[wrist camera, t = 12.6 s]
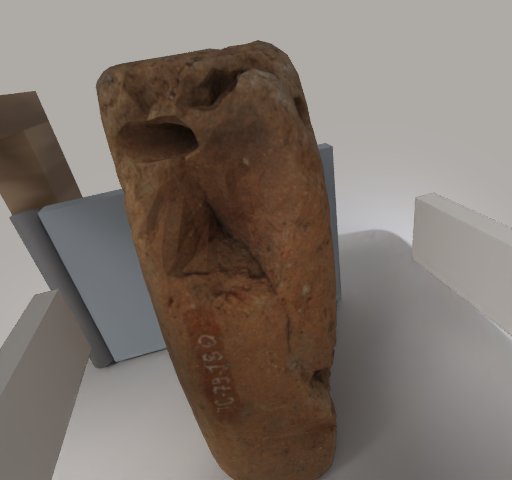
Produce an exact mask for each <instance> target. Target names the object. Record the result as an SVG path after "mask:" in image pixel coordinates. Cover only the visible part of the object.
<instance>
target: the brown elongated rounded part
mask: <svg viewBox="0 0 512 480" xmlns="http://www.w3.org/2000/svg"><path fill="white" fill-rule="evenodd" d="M96 89H97V95H98V101H99V107H100V114H101V120H102V123H103V127H104V131H105V134H106V138H107V141H108V145H109V148H110V152H111V155H112V158H113V161H114V164H115V168H116V173H117V176H118V179H119V182H120V184H121V187H122V189H123V191H124V193H125V195H124V206H125V210H126V214H127V219H128V222H129V225H130V227H131V230H132V240H133V243H134V246H135V250H136V253H137V256H138V259H139V263H140V267H141V271H142V275H143V278H144V281H145V284H146V286H147V289H148V292H149V295H150V298H151V301H152V304H153V307H154V311H155V314H156V317H157V320H158V323H159V326H160V329H161V333H162V336H163V339H164V341H165V344H166V347H167V349H168V352H169V355H170V358H171V360H172V363H173V366H174V368H175V371H176V374H177V376H178V379H179V381H180V384H181V386H182V389H183V391H184V393H185V395H186V397H187V400H188V402H189V404H190V406H191V409H192V411H193V413H194V416H195V418H196V420H197V423H198V425H199V427H200V429H201V431H202V434H203V436H204V438H205V440H206V442H207V444H208V447H209V449H210V451H211V453H212V455H213V456H214V458H215V459H216V461H217V463H218V464H219V466H220V467H221V469H222V470H223V471H224V472H226V473H227V474H228V475H229V476H230V477H231V478H233V479H235V480H315V479H317V478H318V477H319V476H321V475H322V474H323V473H325V472H326V471H327V469H328V468H329V467H330V466H331V465H332V462H333V458H334V453H335V449H336V413H335V409H334V405H333V402H332V399H331V397H330V394H329V391H330V385H329V378H330V375H331V372H330V368H331V366H332V364H333V357H334V347H335V344H336V295H337V291H336V272H335V259H334V250H333V241H332V233H331V223H330V207H329V200H328V194H327V189H326V184H325V176H324V168H323V163H322V159H321V156H320V153H319V149H318V146H317V142H316V139H315V135H314V131H313V128H312V125H311V122H310V117H309V112H308V107H307V103H306V100H305V96H304V93H303V89H302V86H301V82H300V79H299V75H298V73H297V71H296V70H295V68H294V66H293V64H292V62H291V60H290V59H289V57H288V55H287V54H286V53H284V52H283V51H281V50H280V49H278V48H277V47H275V46H274V45H272V44H270V43H267V42H263V41H259V40H258V41H254V42H252V43H248V44H244V45H237V46H229V47H227V48H224V49H222V50H219V49H205V50H200V51H194V52H188V53H183V54H177V55H171V56H165V57H159V58H153V59H147V60H141V61H135V62H129V63H123V64H119V65H115V66H112V67H109V68H108V69H107V70H105V71H104V72H103V73H102V75H101V76H100V78H99V79H98V81H97V84H96Z"/></svg>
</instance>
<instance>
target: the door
mask: <svg viewBox="0 0 512 480" xmlns="http://www.w3.org/2000/svg"><path fill="white" fill-rule="evenodd" d="M317 146H318V149H319V153H320V156H321V159H322V163H323V168H324V176H325V184H326V189H327V194H328V200H329V207H330V223H331V233H332V241H333V250H334V259H335V272H336V291H337V295H336V301H337V300H340V299H341V284H340V267H339V250H338V233H337V216H336V198H335V181H334V166H333V147H332V146H331V145H328V144H326V143H324V144H319V145H317ZM124 195H125V193H124V191H123V189H119V190H115V191H110V192H106V193H101V194H97V195H93V196H88V197H84V198H79V199H75V200H70V201H66V202H61V203H57V204H53V205H48V206H44V207H43V208H42V209H41V210H40V211H39V209H38V208H31V209H27V210H23V211H21V212H18V213H16V214H14V215H12V216H11V217H10V220H11V222H12V223H13V225H14V227H15V229H16V230H17V232H18V234H19V235H20V237H21V239H22V241H23V243H24V244H25V246H26V248H27V249H28V251H29V253H30V255H31V256H32V258H33V260H34V262H35V263H36V265H37V267H38V269H39V270H40V272H41V274H42V275H43V277H44V279H45V281H46V283H47V284H48V286H49V288H50V289H51V291H52V290H56V289H59V291H60V292H61V294H62V296H63V298H64V300H65V301H66V303H67V305H68V307H69V308H70V310H71V312H72V314H73V316H74V317H75V319H76V321H77V323H78V325H79V326H80V328H81V330H82V332H83V333H84V335H85V337H86V339H87V341H88V342H89V344H90V346H91V351H90V354H89V357H90V359H91V361H92V363H93V364H94V366H95V367H96V368H103V367H105V366H107V365H109V364H110V363H111V362H112V361H113V360H115V362H118V361H121V360H125V359H129V358H132V357H136V356H139V355H143V354H147V353H150V352H154V351H157V350H161V349H165V348H167V347H166V344H165V341H164V339H163V336H162V333H161V329H160V326H159V323H158V320H157V317H156V314H155V311H154V307H153V304H152V301H151V298H150V295H149V292H148V289H147V286H146V284H145V281H144V278H143V275H142V271H141V267H140V263H139V259H138V256H137V253H136V250H135V246H134V243H133V240H132V230H131V227H130V225H129V222H128V219H127V214H126V210H125V206H124Z"/></svg>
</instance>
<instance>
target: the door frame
mask: <svg viewBox="0 0 512 480" xmlns="http://www.w3.org/2000/svg"><path fill="white" fill-rule="evenodd" d="M0 194H1V196H2V198H3V199H4V201H5V203H6V205H7V206H8V208H9V210H10V211H11V214H12V215H14V214H16V213H18V212H21V211H23V210H27V209H31V208H38V209H39V211H40V210H41V209H42V208H43V207H44V206H48V205H53V204H57V203H61V202H66V201H70V200H75V199H79V198H83V197H82V195H81V193H80V190H79V188H78V186H77V184H76V181H75V179H74V177H73V174H72V172H71V170H70V168H69V166H68V163H67V161H66V159H65V157H64V154H63V152H62V150H61V148H60V145H59V143H58V141H57V138H56V136H55V134H54V132H53V129H52V127H51V125H50V123H49V120H48V118H47V116H46V114H45V111H44V109H43V107H42V105H41V103H40V100H39V98H38V96H37V93H36V91H32V92H24V93H15V94H8V95H0Z"/></svg>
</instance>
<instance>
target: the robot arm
mask: <svg viewBox="0 0 512 480" xmlns="http://www.w3.org/2000/svg"><path fill="white" fill-rule="evenodd" d="M412 259H413V260H414V261H415V262H417V263H418V264H419V265H421V266H422V267H423V268H424V269H426V270H427V271H428V272H430V273H431V274H432V275H434V276H435V277H436V278H437V279H439V280H440V281H441V282H443V283H444V284H445V285H446V286H448V287H449V288H450V289H452V290H453V291H454V292H455V293H457V294H458V295H459V296H461V297H462V298H463V299H464V300H466V301H467V302H468V303H470V304H471V305H472V306H473V307H475V308H476V309H477V310H479V311H480V312H481V313H483V314H484V315H485V316H486V317H488V318H489V319H490V320H492V321H493V322H494V323H495V324H497V325H498V326H499V327H501V328H502V329H503V330H504V331H506V332H507V333H508V334H510V335H511V336H512V228H510V227H508V226H506V225H504V224H501V223H499V222H497V221H495V220H493V219H491V218H488V217H486V216H484V215H482V214H480V213H477V212H475V211H473V210H471V209H469V208H466V207H464V206H462V205H460V204H458V203H455V202H453V201H451V200H449V199H447V198H444V197H442V196H440V195H438V194H436V193H431V194H427V195H423V196H419V197H416V199H415V214H414V230H413V246H412ZM90 351H91V346H90V344H89V342H88V341H87V339H86V337H85V335H84V333H83V332H82V330H81V328H80V326H79V325H78V323H77V321H76V319H75V317H74V316H73V314H72V312H71V310H70V308H69V307H68V305H67V303H66V301H65V300H64V298H63V296H62V294H61V292H60V291H59V289H56V290H52V291H48V292H44V293H40V294H36V295H35V296H34V297H33V298H32V300H31V302H30V303H29V305H28V306H27V308H26V310H25V311H24V313H23V314H22V316H21V318H20V319H19V320H18V322H17V324H16V325H15V327H14V328H13V330H12V332H11V333H10V335H9V337H8V338H7V339H6V341H5V342H4V344H3V346H2V347H1V349H0V480H51V479H52V476H53V473H54V469H55V466H56V463H57V460H58V456H59V453H60V450H61V446H62V443H63V440H64V437H65V433H66V430H67V427H68V423H69V420H70V417H71V414H72V410H73V407H74V404H75V400H76V397H77V394H78V391H79V387H80V384H81V381H82V377H83V374H84V371H85V368H86V364H87V361H88V358H89V354H90Z"/></svg>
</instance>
